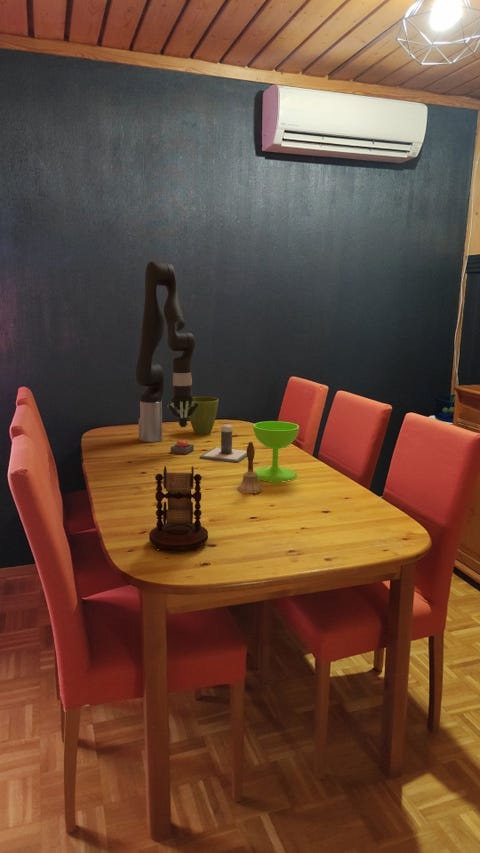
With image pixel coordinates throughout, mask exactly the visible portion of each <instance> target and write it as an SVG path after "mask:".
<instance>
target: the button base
mask: <svg viewBox="0 0 480 853" xmlns="http://www.w3.org/2000/svg"><path fill="white" fill-rule="evenodd" d="M194 446H195V444H190V443H188V447H186V448H181V447H177V443H175V444H174V445H172V446H170V454H175V455H176V454H178V455H185V456H186V455H188V454H189V455H190V454H191V453H192V452H194V451H195V449H194V448H195V447H194Z"/></svg>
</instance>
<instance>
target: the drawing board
mask: <svg viewBox="0 0 480 853" xmlns="http://www.w3.org/2000/svg"><path fill="white" fill-rule="evenodd" d="M246 458H247V449H246V450H245V449H235V448H232V454H221V447H218V446H217V447H216V446H215V447H213V448H212V449H210V450H208V451H207V452H205V453H203V454H201V455H199V459H201V460H202V459H203V460H211V461H217V462H219V461H220V462H228V463H234V464H235V463H236V464H237V463H238V464H239V463H240V462H242V461H243V460H244V459H246Z"/></svg>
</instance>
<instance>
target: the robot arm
mask: <svg viewBox="0 0 480 853" xmlns="http://www.w3.org/2000/svg"><path fill="white" fill-rule="evenodd" d="M158 286H159V287H165V288H166V291H167V298H166V300H165V302H164V305H163V306H164V307H163V310H162V307H161V305H160V303H159V300H158V296H157V288H158ZM178 289H179V288H178V281H177V275H176V271H175V267H174V266H173V265H172V264H171V263H170V262H169V263H168V262H162V261H161V262H160V261H153V260H152V261H149V262H148V263H147V264H146V268H145V275H144V304H143V306H144V307H143V316H142V322H141V338H140V345H139V351H138V353H139V354H138V358H137V363H136V366H135V367H136V368H135V380H136V382H137V384H138V385H139V386H141V387H146V390H144V392H142V393H141V394H140V396H139V410H140V412H139V413H140V414H139V415H140V417H139V418H138V441H141V442H144V443H155V442H156V443H157V442H161V441H163V409H162V408H163V407H162V406H163V405H162V403H163V402H162V399H163V395H164V390H165V389H164V385H165V374H164V370H163V367H162V366H161V364H158V363H153V358H154V354H155V353H156V352H155V351H156V350H157V348H158V347H159V345H160V343H161V341H162V339H163V337H164V334H165V327H166V326H167V345H168V347H169V349H170V350H171V351H173V352H182V354H181V355H180V356H177V357H175V358H173V360H172V399H171V402H170V403H169V404H167V405H166V407H167V408H168V410H169V411H170V412H171V414H172V415H173V416H175V417H176V418H178V425H179V427H181V428H186V427H187V426H188V418H189V416H191V415H192V413H193V412H194V410H195V409H196V408H197V406H198V403H195V402H194V401H193V398H192V397H193V386H192V385H193V378H192V359H193V353H194V350H195V348H196V338H195V336H194V335H193V333H191V332H180V331H182V330H183V329H185V326H186V321H185V318H184V315H183V311H182V308H181V303H180V297H179V290H178ZM190 405H191V407H190V409H189V410H188V408H189V406H190ZM175 407H176V410H175Z"/></svg>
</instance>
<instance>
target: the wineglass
mask: <svg viewBox="0 0 480 853" xmlns="http://www.w3.org/2000/svg"><path fill="white" fill-rule="evenodd" d="M252 426H253V432H254V435H255V438H256V440H258V441H259V443H260V444H262V445H263V446H264V447H266V448H269V449H272V463H271V464H272V465H271V466H268V467H266V466H265V467H260V468H257V469H256V470H253V472H255V473H256V474H257V477H258V479H259V480H258V481H260V480H263V481H262V482H265V481H271V482H270V483H273V482H281V483H283V482H282V481H288V480H292V479H295V478H296V477H297V478H298V475H297V472H295V471H294V470H291V469H289V468H285V467H279V464H278V463H279V461H278V460H279V450H280V449H284V448H287V447H289V446H290V445H291V444H293V442H294V441H295V440H296V439H297V438H298V435H299V432H300V431H299V430H300V426H299V424H296V423H295V422H294V423H293V422H289V421H278V420H269V421H268V420H267V421H260V422H256V423H253V425H252ZM295 480H296V479H295Z"/></svg>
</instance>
